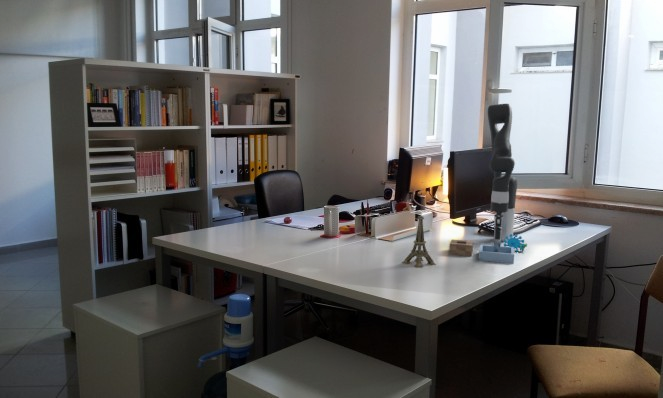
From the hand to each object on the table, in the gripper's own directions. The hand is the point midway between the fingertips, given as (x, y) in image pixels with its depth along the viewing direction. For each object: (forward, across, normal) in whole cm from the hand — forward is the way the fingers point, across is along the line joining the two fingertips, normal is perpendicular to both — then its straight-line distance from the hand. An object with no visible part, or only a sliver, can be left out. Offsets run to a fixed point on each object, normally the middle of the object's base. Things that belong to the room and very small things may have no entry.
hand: (497, 238), depth 259 cm
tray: (+9, 0, 0) cm, 9 cm away
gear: (+9, -18, +8) cm, 22 cm away
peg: (+7, 0, 0) cm, 7 cm away
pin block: (+9, -4, -16) cm, 19 cm away
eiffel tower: (+9, +23, -32) cm, 41 cm away
